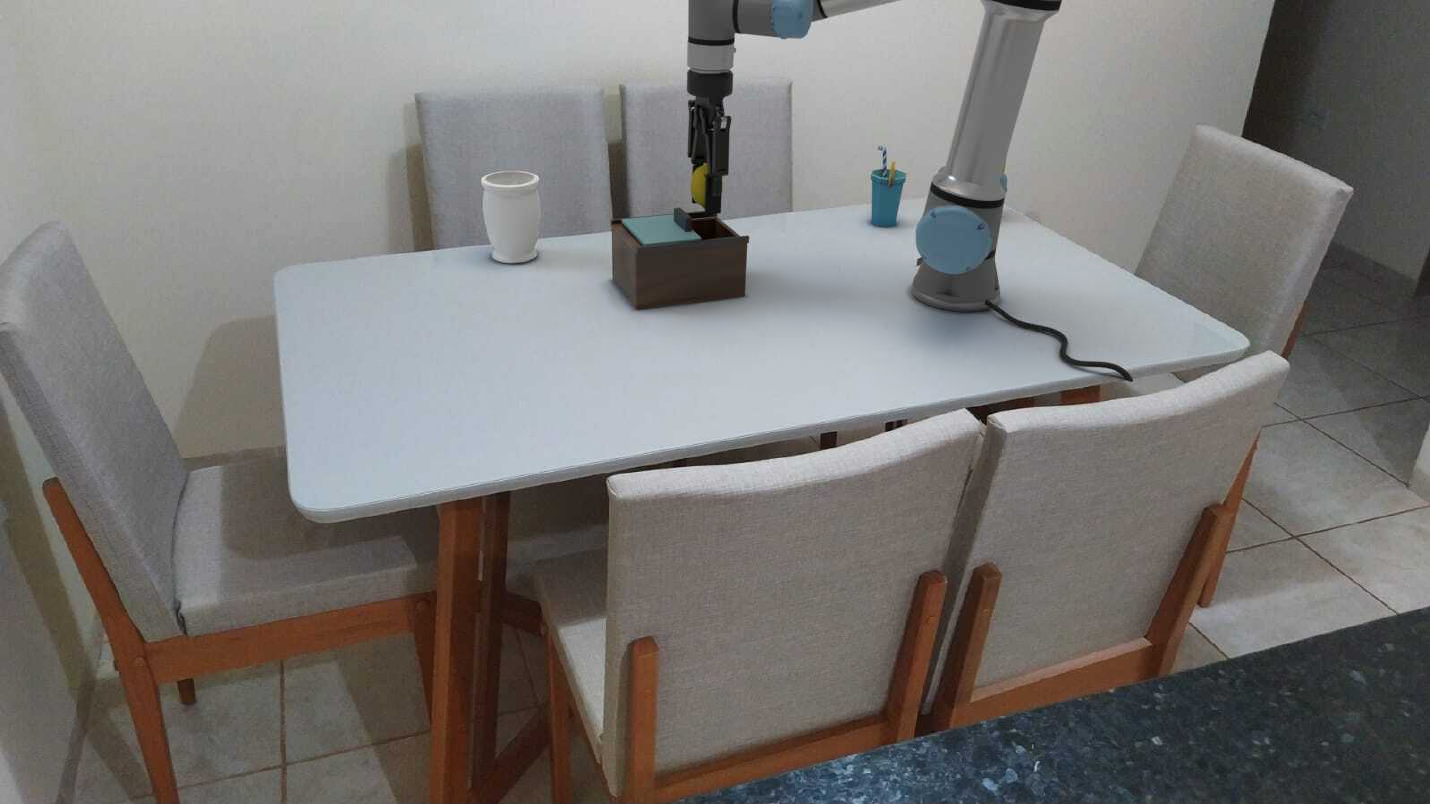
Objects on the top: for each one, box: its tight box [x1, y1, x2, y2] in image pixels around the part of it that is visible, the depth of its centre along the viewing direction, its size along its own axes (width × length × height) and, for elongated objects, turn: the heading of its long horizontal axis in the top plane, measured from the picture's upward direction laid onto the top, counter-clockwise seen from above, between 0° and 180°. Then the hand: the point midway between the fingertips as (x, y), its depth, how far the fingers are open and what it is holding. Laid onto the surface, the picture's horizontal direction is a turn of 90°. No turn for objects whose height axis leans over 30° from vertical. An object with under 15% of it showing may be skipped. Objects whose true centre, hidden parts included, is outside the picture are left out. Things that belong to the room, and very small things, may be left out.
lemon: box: [689, 163, 724, 210], centre depth 179 cm, size 6×6×8 cm
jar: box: [480, 170, 542, 264], centre depth 194 cm, size 11×10×15 cm
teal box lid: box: [621, 207, 702, 246], centre depth 179 cm, size 13×10×3 cm
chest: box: [610, 210, 750, 310], centre depth 183 cm, size 15×20×11 cm
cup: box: [870, 145, 908, 228], centre depth 219 cm, size 14×8×15 cm, turn 10°
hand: (706, 207), depth 181 cm, fingers closed on lemon, 5 cm apart
